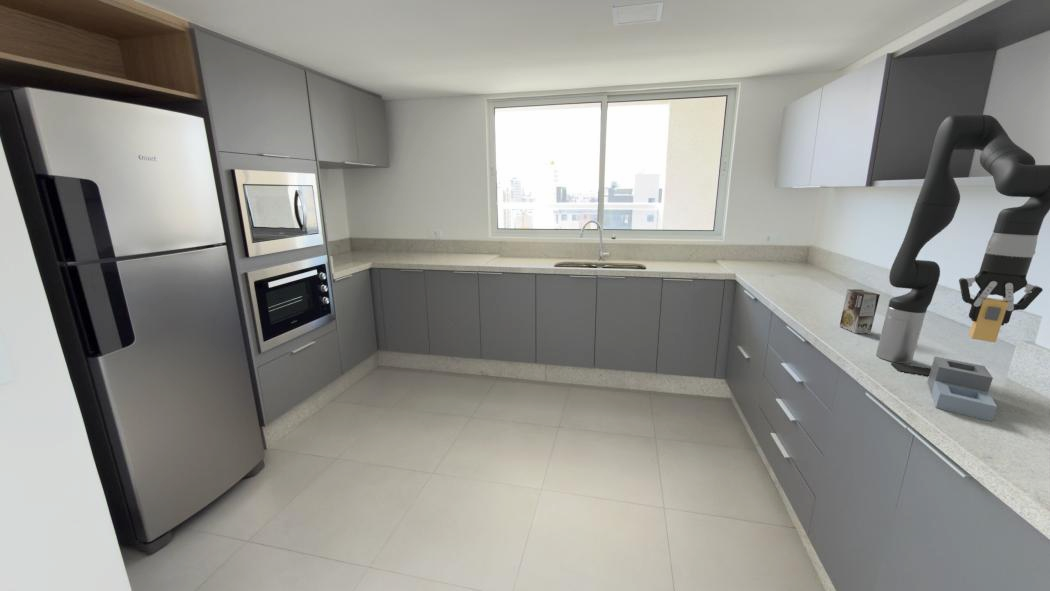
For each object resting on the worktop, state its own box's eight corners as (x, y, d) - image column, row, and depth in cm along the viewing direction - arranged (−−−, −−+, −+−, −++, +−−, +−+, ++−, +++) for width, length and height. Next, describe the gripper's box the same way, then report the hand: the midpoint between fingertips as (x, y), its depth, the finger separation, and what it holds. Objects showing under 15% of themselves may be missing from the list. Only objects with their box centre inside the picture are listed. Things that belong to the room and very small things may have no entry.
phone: (889, 362, 136) (949, 370, 130) (889, 364, 136) (949, 373, 130) (898, 370, 129) (962, 380, 123) (898, 373, 129) (962, 382, 123)
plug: (968, 334, 106) (980, 296, 104) (991, 338, 104) (1004, 299, 101) (972, 339, 103) (984, 300, 100) (996, 343, 100) (1009, 303, 98)
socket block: (927, 381, 123) (934, 356, 121) (975, 392, 117) (984, 366, 115) (935, 407, 107) (944, 379, 105) (992, 421, 101) (1002, 391, 99)
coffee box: (871, 334, 164) (881, 294, 160) (854, 333, 164) (864, 294, 160) (853, 326, 173) (862, 289, 169) (838, 326, 173) (846, 288, 169)
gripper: (1049, 255, 97) (1025, 325, 101) (963, 248, 105) (944, 313, 110) (1061, 258, 91) (1035, 333, 95) (968, 251, 100) (948, 319, 104)
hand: (986, 322), depth 103 cm, fingers closed on plug, 4 cm apart
